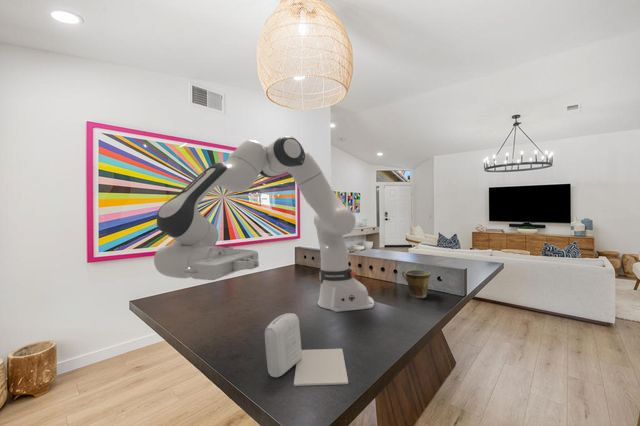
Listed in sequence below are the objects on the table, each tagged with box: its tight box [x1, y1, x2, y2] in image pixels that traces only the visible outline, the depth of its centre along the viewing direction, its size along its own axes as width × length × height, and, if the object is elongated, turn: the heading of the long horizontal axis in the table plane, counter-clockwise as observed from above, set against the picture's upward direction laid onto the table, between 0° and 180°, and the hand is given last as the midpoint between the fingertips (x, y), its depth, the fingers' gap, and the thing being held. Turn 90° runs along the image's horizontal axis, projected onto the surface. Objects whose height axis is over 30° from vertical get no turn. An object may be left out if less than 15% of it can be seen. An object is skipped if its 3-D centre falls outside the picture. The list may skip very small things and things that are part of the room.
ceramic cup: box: [401, 269, 431, 299], centre depth 123 cm, size 13×10×10 cm
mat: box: [293, 348, 349, 387], centre depth 70 cm, size 12×15×1 cm
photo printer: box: [264, 312, 303, 378], centre depth 70 cm, size 10×4×12 cm, turn 150°
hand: (255, 264), depth 71 cm, fingers closed
